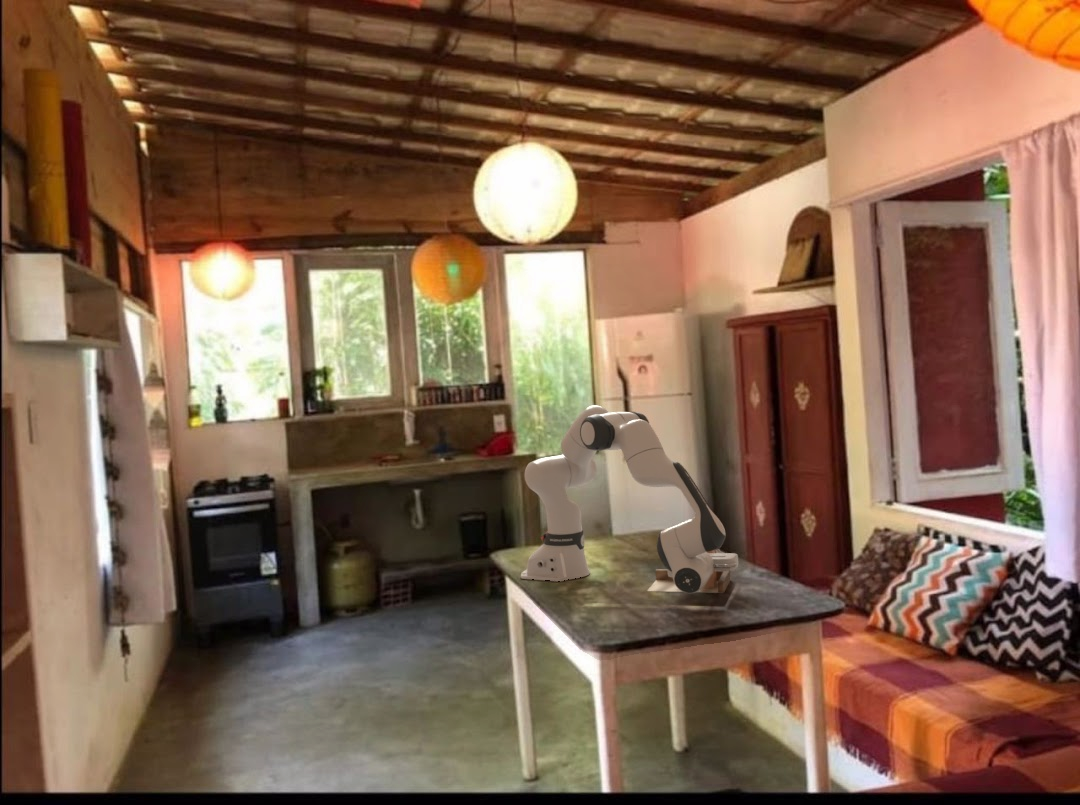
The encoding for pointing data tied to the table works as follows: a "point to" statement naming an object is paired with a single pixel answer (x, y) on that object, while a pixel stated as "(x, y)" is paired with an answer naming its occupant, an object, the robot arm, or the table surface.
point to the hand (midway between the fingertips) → (705, 555)
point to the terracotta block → (712, 579)
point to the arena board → (668, 585)
